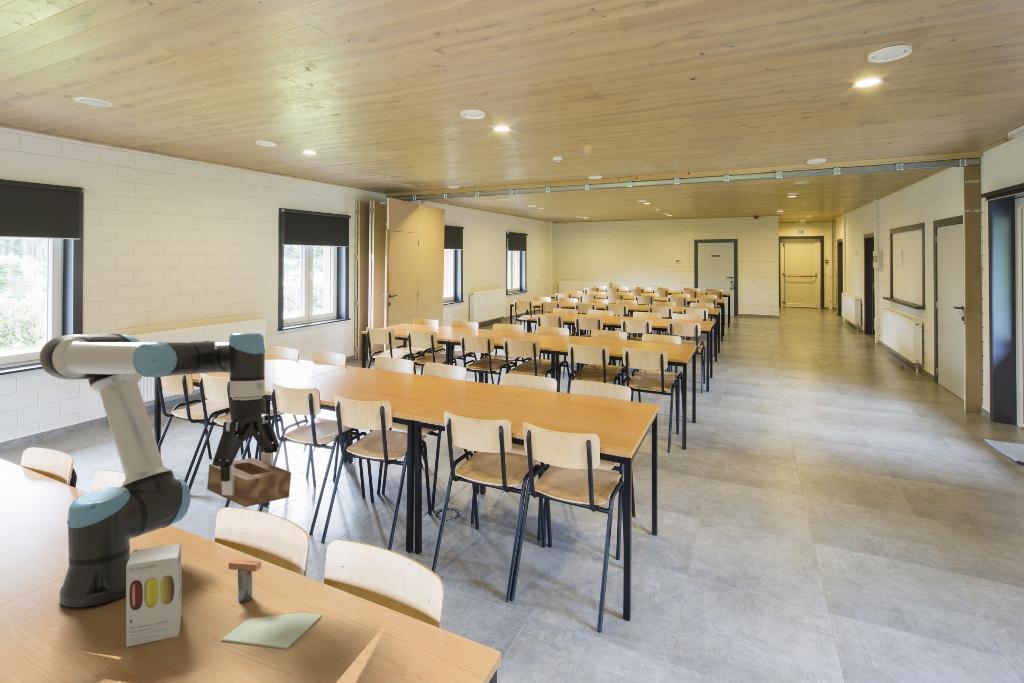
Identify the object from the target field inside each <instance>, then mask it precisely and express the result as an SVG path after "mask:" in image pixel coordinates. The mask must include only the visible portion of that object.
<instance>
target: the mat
mask: <svg viewBox="0 0 1024 683" xmlns="http://www.w3.org/2000/svg"><path fill="white" fill-rule="evenodd" d="M321 617H323V614H319V613H317V614H316V613H309V612H298V613H297V612H296V613H289V614H287V613H286V614H279V615H278V614H277V615H267V616H262V617H261V616H260V617H254V618H253V617H250V618H247V619H246V620H244V621H243V622H242V623H241V624H240V625H238V626H237V627H236V628H234V629H233V630H231V631H230V632H229V633H228V634H226V635H224V637H222V638H221V642H225V643H226V642H227V643H235V644H244V645H251V646H259V647H268V648H277V649H285V650H288V649H289V648H290V647H291V646H292V645H293V644H294V643H295V642H296V641H297V640H299V639H300V638H301V637H302V636H303V635H304V634H305V633H306V632H307V631H308V630H310V629H311V627H312V626H313V625H315V624H316V623H317V622H318V621H319V620H320V619H321Z"/></svg>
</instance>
